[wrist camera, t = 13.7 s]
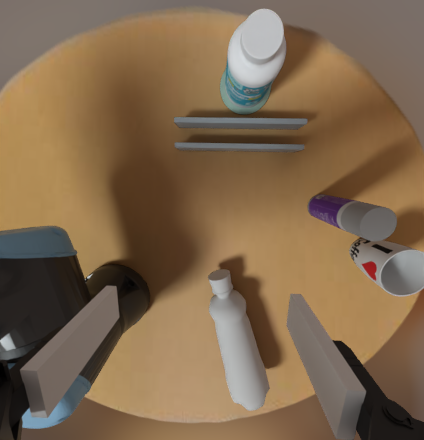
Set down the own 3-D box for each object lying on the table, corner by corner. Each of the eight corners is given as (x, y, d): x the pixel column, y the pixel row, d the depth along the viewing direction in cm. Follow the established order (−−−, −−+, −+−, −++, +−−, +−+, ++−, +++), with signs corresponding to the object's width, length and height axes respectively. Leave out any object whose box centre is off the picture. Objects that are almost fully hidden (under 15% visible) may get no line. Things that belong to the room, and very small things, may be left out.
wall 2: (179, 150, 38) (174, 147, 34) (179, 145, 38) (174, 142, 34) (295, 152, 37) (303, 149, 33) (295, 147, 37) (304, 144, 33)
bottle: (276, 382, 45) (248, 265, 40) (261, 425, 39) (225, 290, 33) (242, 367, 51) (214, 263, 46) (224, 402, 44) (188, 284, 39)
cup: (354, 225, 40) (398, 242, 30) (390, 240, 40) (445, 261, 30) (334, 259, 41) (369, 285, 32) (368, 273, 42) (413, 303, 32)
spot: (219, 114, 36) (219, 113, 36) (221, 57, 34) (221, 57, 34) (268, 114, 36) (268, 114, 36) (273, 57, 34) (273, 57, 33)
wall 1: (179, 127, 37) (174, 122, 33) (179, 123, 37) (174, 117, 33) (297, 129, 36) (306, 124, 32) (298, 124, 36) (307, 118, 32)
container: (302, 210, 39) (351, 231, 25) (316, 189, 38) (375, 199, 24) (322, 221, 40) (380, 248, 25) (336, 201, 39) (406, 217, 24)
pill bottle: (218, 100, 35) (218, 56, 22) (234, 55, 34) (244, -21, 20) (256, 116, 36) (278, 82, 23) (274, 72, 34) (308, 8, 21)
